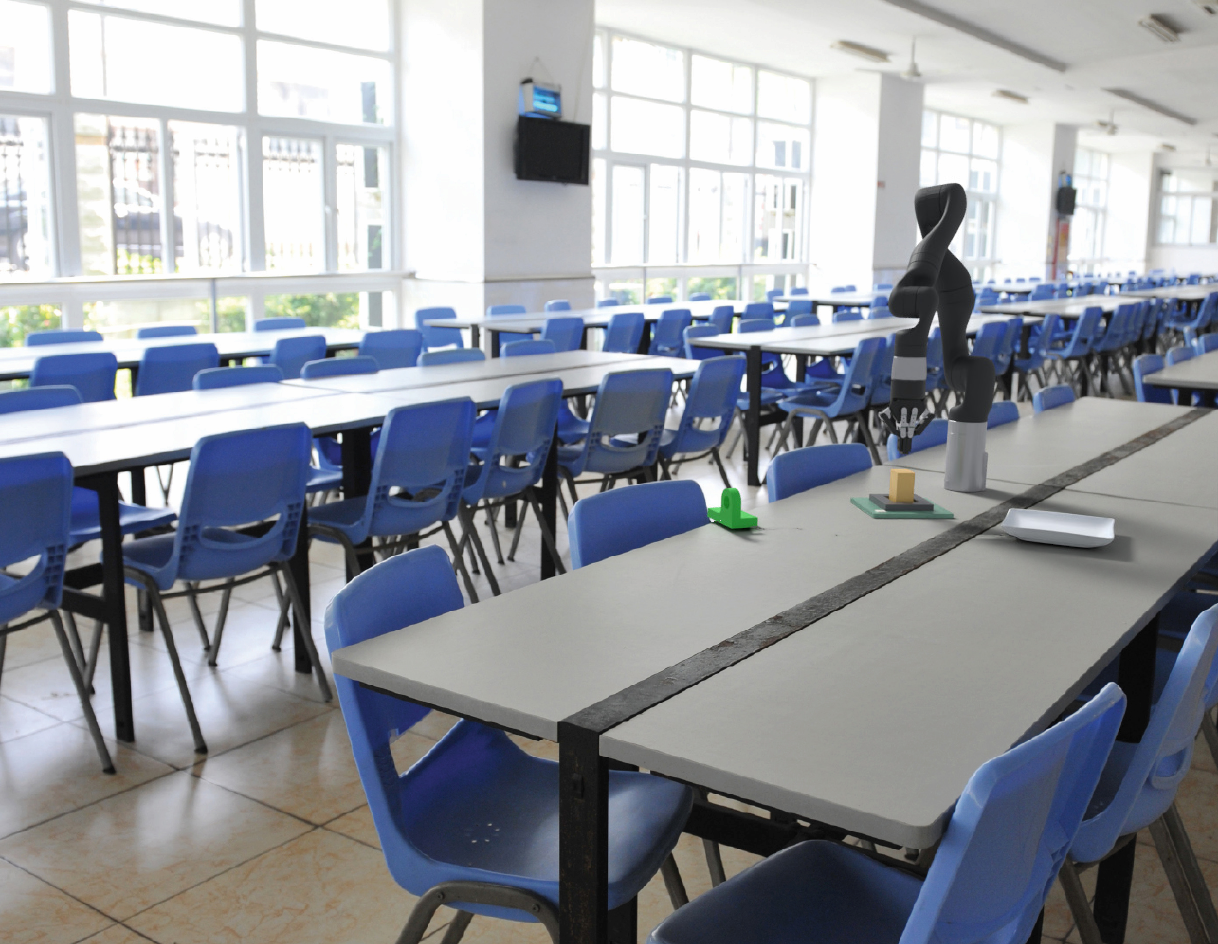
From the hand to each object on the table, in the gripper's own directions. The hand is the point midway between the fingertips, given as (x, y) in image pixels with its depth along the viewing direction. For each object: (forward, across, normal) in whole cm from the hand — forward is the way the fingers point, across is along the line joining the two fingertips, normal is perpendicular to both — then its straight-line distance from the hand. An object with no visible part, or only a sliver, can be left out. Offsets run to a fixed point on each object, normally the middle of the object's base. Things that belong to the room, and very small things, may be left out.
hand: (903, 453), depth 253 cm
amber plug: (+12, 0, 0) cm, 12 cm away
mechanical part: (+13, +41, +12) cm, 45 cm away
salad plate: (+14, -25, +25) cm, 38 cm away
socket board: (+13, 0, 0) cm, 13 cm away
